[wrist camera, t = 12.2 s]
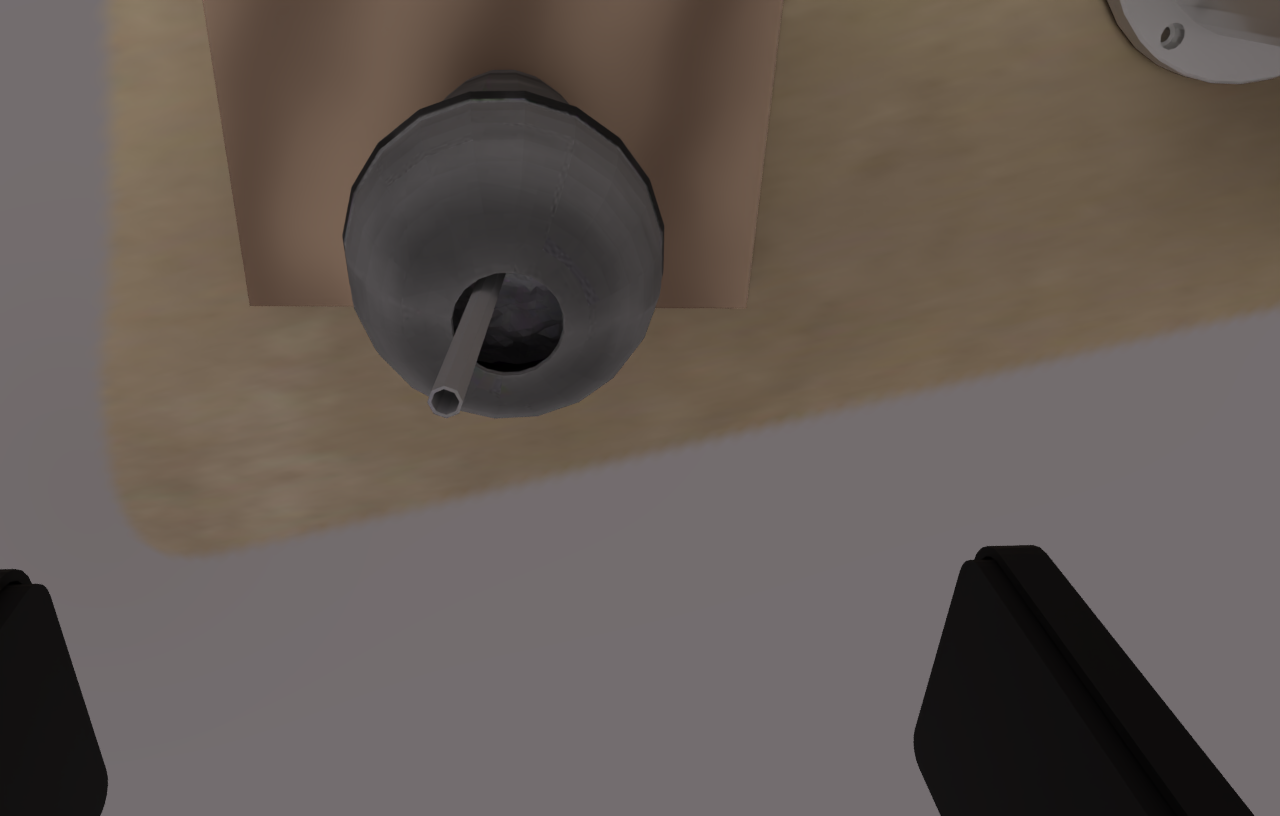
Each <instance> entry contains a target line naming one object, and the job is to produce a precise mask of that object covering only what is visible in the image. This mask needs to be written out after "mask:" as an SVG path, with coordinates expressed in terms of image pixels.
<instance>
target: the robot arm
mask: <svg viewBox="0 0 1280 816" xmlns="http://www.w3.org/2000/svg"><path fill="white" fill-rule="evenodd" d="M1107 1H1108V4H1109V6H1110V8H1111V10H1112V13H1113V15H1114V17H1115V20H1116V22H1117V24H1118V26H1119V27H1120V28H1121V30H1122V31H1123V32H1124V34H1125V35H1126V36H1127V37H1128V39H1129V40H1130V41H1131V43H1132V44H1133V45H1134V47H1135V48H1136V49H1137V50H1139V51H1140V52H1141V53H1143V54H1144V55H1145V56H1146V57H1148V58H1149V59H1150V60H1151V61H1153V62H1154V63H1155V64H1157V65H1158V66H1160V67H1163V68H1165V69H1167V70H1170V71H1172V72H1174V73H1177V74H1179V75H1181V76H1184V77H1189V78H1193V79H1197V80H1202V81H1206V82H1209V83H1223V84H1245V83H1251V82H1257V81H1263V80H1269V79H1273V78H1276V77H1279V76H1280V0H1107ZM914 751H915V756H916V761H917V763H918V766H919V769H920V771H921V773H922V775H923V777H924V780H925V782H926V784H927V786H928V789H929V790H930V793H931V795H932V797H933V800H934V802H935V804H936V806H937V808H938V810H939V813H940V815H941V816H1254V815H1253V813H1252V812H1251V811H1250V809H1249V808H1248V807H1247V806H1246V804H1245V803H1244V802H1243V801H1242V799H1241V798H1240V797H1239V796H1238V794H1237V793H1236V792H1235V791H1234V789H1233V788H1232V787H1231V786H1230V784H1229V783H1228V782H1227V781H1226V779H1225V778H1224V777H1223V775H1222V774H1221V773H1220V772H1219V770H1218V769H1217V768H1216V767H1215V765H1214V764H1213V763H1212V762H1211V760H1210V759H1209V758H1208V757H1207V755H1206V754H1205V753H1204V751H1203V750H1202V749H1201V748H1200V747H1199V745H1198V744H1197V743H1196V742H1195V740H1194V739H1193V738H1192V736H1191V735H1190V734H1189V733H1188V731H1187V730H1186V729H1185V728H1184V726H1183V725H1182V724H1181V723H1180V721H1179V720H1178V719H1177V717H1176V716H1175V715H1174V714H1173V712H1172V711H1171V710H1170V709H1169V707H1168V706H1167V705H1166V704H1165V702H1164V701H1163V700H1162V699H1161V697H1160V696H1159V695H1158V694H1157V692H1156V691H1155V690H1154V688H1153V687H1152V686H1151V685H1150V683H1149V682H1148V681H1147V680H1146V678H1145V677H1144V676H1143V675H1142V673H1141V672H1140V671H1139V670H1138V668H1137V667H1136V666H1135V664H1134V663H1133V662H1132V661H1131V660H1130V658H1129V657H1128V656H1127V654H1126V653H1125V652H1124V651H1123V649H1122V648H1121V647H1120V646H1119V644H1118V643H1117V642H1116V641H1115V639H1114V638H1113V637H1112V636H1111V635H1110V633H1109V632H1108V630H1107V629H1106V628H1105V627H1104V626H1103V624H1102V623H1101V622H1100V620H1099V619H1098V618H1097V617H1096V615H1095V614H1094V613H1093V612H1092V610H1091V609H1090V608H1089V607H1088V605H1087V604H1086V603H1085V601H1084V600H1083V599H1082V598H1081V596H1080V595H1079V594H1078V593H1077V592H1076V590H1075V589H1074V588H1073V586H1072V585H1071V584H1070V583H1069V581H1068V580H1067V579H1066V577H1065V576H1064V575H1063V574H1062V572H1061V571H1060V570H1059V569H1058V568H1057V566H1056V565H1055V564H1054V563H1053V561H1052V560H1051V559H1050V558H1049V556H1048V555H1047V554H1046V553H1045V552H1044V551H1043V550H1042V549H1041V548H1040V547H1037V546H1034V545H1019V546H987V547H983V548H981V549H980V550H979V551H978V553H977V554H976V557H975V559H974V560H969V561H966V562H965V563H964V564H963V565H962V567H961V570H960V573H959V576H958V580H957V583H956V587H955V590H954V594H953V597H952V601H951V605H950V608H949V612H948V615H947V618H946V622H945V625H944V629H943V632H942V636H941V639H940V643H939V647H938V650H937V654H936V657H935V661H934V664H933V668H932V672H931V675H930V678H929V682H928V685H927V689H926V692H925V696H924V699H923V704H922V706H921V710H920V713H919V717H918V720H917V724H916V728H915V732H914ZM107 787H108V776H107V771H106V768H105V765H104V761H103V758H102V755H101V752H100V749H99V746H98V742H97V740H96V737H95V733H94V730H93V727H92V724H91V721H90V717H89V715H88V711H87V708H86V705H85V702H84V699H83V696H82V693H81V690H80V686H79V683H78V681H77V677H76V674H75V671H74V668H73V665H72V661H71V658H70V655H69V652H68V649H67V646H66V643H65V640H64V637H63V634H62V630H61V627H60V624H59V621H58V618H57V615H56V612H55V609H54V605H53V602H52V599H51V596H50V594H49V592H48V590H47V589H46V587H45V586H44V585H41V584H32V583H31V581H30V579H29V577H28V576H27V575H26V574H25V573H24V572H23V571H21V570H16V569H3V570H0V816H100V815H101V813H102V810H103V807H104V804H105V800H106V796H107Z"/></svg>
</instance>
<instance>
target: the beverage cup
mask: <svg viewBox="0 0 1280 816" xmlns="http://www.w3.org/2000/svg"><path fill="white" fill-rule="evenodd" d="M342 238H343V245H344V251H345V258H346V264H347V271H348V277H349V284H350V288H351V295H352V301H353V305H354V309H355V311H356V313H357V315H358V317H359V319H360V320H361V322H362V324H363V326H364V328H365V330H366V332H367V334H368V336H369V338H370V340H371V342H372V344H373V346H374V347H375V349H376V351H377V352H378V353H379V355H380V356H381V357H382V358H383V359H384V360H385V361H386V362H387V363H388V364H389V365H390V366H391V367H392V368H393V369H394V370H395V371H396V372H397V373H398V374H399V375H400V376H401V377H402V378H403V379H404V380H405V381H406V382H407V383H408V384H409V385H410V386H411V387H412V388H414V389H416V390H418V391H419V392H421V393H423V394H425V395H427V396H429V399H428V402H427V403H428V404H429V406H430V408H431V410H432V411H433V413H434V414H436V415H439V416H442V417H445V418H449V417H451V416H454V415H456V414H458V413H459V412H460V411H464V412H469V413H473V414H478V415H482V416H487V417H491V418H511V417H530V416H539V415H542V414H545V413H548V412H551V411H554V410H557V409H560V408H563V407H566V406H569V405H572V404H575V403H577V402H580V401H581V400H582V399H584V398H585V397H587V396H588V395H590V394H591V393H592V392H594V391H595V390H597V389H598V388H600V387H601V386H602V385H604V384H605V383H607V382H608V381H609V380H611V379H612V378H614V376H615V375H616V374H617V372H618V371H619V370H620V369H621V367H622V366H623V365H624V363H625V362H626V361H627V360H628V358H629V357H630V356H631V354H632V353H633V352H634V351H635V349H636V348H637V347H638V345H639V344H640V343H641V341H642V340H643V339H644V337H645V334H646V332H647V329H648V326H649V323H650V320H651V318H652V315H653V312H654V309H655V306H656V304H657V301H658V298H659V295H660V290H661V279H662V276H663V269H664V223H663V220H662V216H661V213H660V210H659V207H658V204H657V200H656V197H655V194H654V191H653V188H652V184H651V181H650V179H649V177H648V176H647V175H646V173H645V172H644V170H643V169H642V168H641V166H640V165H639V163H638V162H637V161H636V159H635V158H634V157H633V155H632V154H631V152H630V151H629V150H628V148H627V147H626V146H625V144H624V143H623V141H622V140H621V139H620V138H619V137H618V136H617V135H615V134H614V133H612V132H611V131H610V130H608V129H607V128H606V127H604V126H603V125H601V124H600V123H599V122H597V121H596V120H594V119H593V118H592V117H590V116H589V115H588V114H586V113H585V112H583V111H582V110H581V109H579V108H578V107H576V106H573V105H569V103H568V102H567V101H566V100H565V99H564V98H563V96H562V95H561V94H560V93H558V92H557V91H556V90H554V89H553V88H552V87H550V86H549V85H547V84H546V83H545V82H543V81H542V80H540V79H538V78H537V77H536V76H533V75H529V74H526V73H523V72H520V71H517V70H491V71H488V72H486V73H483V74H480V75H477V76H474V77H472V78H471V79H468V80H466V81H465V82H464V83H463V84H461V85H460V86H459V87H458V88H456V89H455V90H454V91H453V92H452V93H450V94H449V95H448V96H447V97H446V98H445V99H444V100H443V101H441V102H438V103H435V104H433V105H430V106H427V107H424V108H421V109H419V110H418V111H416V112H415V113H414V114H413V115H411V116H410V117H409V118H408V119H406V120H405V121H404V122H403V123H402V124H400V125H399V126H398V127H397V128H395V129H394V130H393V131H392V132H391V133H389V134H388V135H387V136H386V137H384V138H383V139H382V140H381V141H379V142H378V143H377V145H376V147H375V148H374V150H373V152H372V153H371V155H370V157H369V158H368V160H367V162H366V163H365V165H364V167H363V168H362V170H361V172H360V173H359V175H358V177H357V178H356V180H355V182H354V184H353V185H352V187H351V192H350V197H349V203H348V208H347V213H346V218H345V224H344V229H343V234H342Z"/></svg>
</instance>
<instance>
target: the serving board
mask: <svg viewBox="0 0 1280 816" xmlns="http://www.w3.org/2000/svg"><path fill="white" fill-rule="evenodd" d="M783 1H784V0H203V7H204V13H205V19H206V26H207V32H208V39H209V45H210V52H211V58H212V65H213V71H214V77H215V84H216V90H217V97H218V103H219V110H220V116H221V123H222V129H223V135H224V142H225V148H226V155H227V161H228V168H229V174H230V180H231V187H232V193H233V200H234V206H235V213H236V219H237V226H238V232H239V238H240V245H241V251H242V258H243V264H244V271H245V277H246V284H247V290H248V296H249V303H250V306H354V305H353V301H352V295H351V288H350V284H349V277H348V271H347V264H346V258H345V251H344V245H343V238H342V234H343V229H344V224H345V218H346V213H347V208H348V203H349V197H350V192H351V187H352V185H353V184H354V182H355V180H356V178H357V177H358V175H359V173H360V172H361V170H362V168H363V167H364V165H365V163H366V162H367V160H368V158H369V157H370V155H371V153H372V152H373V150H374V148H375V147H376V145H377V143H378V142H379V141H381V140H382V139H383V138H384V137H386V136H387V135H388V134H389V133H391V132H392V131H393V130H394V129H395V128H397V127H398V126H399V125H400V124H402V123H403V122H404V121H405V120H406V119H408V118H409V117H410V116H411V115H413V114H414V113H415V112H416V111H418V110H419V109H421V108H424V107H427V106H430V105H433V104H435V103H438V102H441V101H443V100H444V99H445V98H446V97H447V96H448V95H449V94H450V93H452V92H453V91H454V90H455V89H456V88H458V87H459V86H460V85H461V84H463V83H464V82H465V81H466V80H468V79H471V78H472V77H474V76H477V75H480V74H483V73H486V72H488V71H491V70H517V71H520V72H523V73H526V74H529V75H533V76H536V77H537V78H538V79H540V80H542V81H543V82H545V83H546V84H547V85H549V86H550V87H552V88H553V89H554V90H556V91H557V92H558V93H560V94H561V95H562V96H563V98H564V99H565V100H566V101H567V102H568V103H569V105H573V106H576V107H578V108H579V109H581V110H582V111H583V112H585V113H586V114H588V115H589V116H590V117H592V118H593V119H594V120H596V121H597V122H599V123H600V124H601V125H603V126H604V127H606V128H607V129H608V130H610V131H611V132H612V133H614V134H615V135H617V136H618V137H619V138H620V139H621V140H622V141H623V143H624V144H625V146H626V147H627V148H628V150H629V151H630V152H631V154H632V155H633V157H634V158H635V159H636V161H637V162H638V163H639V165H640V166H641V168H642V169H643V170H644V172H645V173H646V175H647V176H648V177H649V179H650V181H651V184H652V188H653V191H654V194H655V197H656V200H657V204H658V207H659V210H660V213H661V216H662V220H663V223H664V269H663V276H662V279H661V290H660V295H659V298H658V301H657V304H656V306H655V308H746V307H747V299H748V291H749V282H750V274H751V266H752V258H753V249H754V241H755V233H756V224H757V216H758V208H759V200H760V191H761V183H762V175H763V166H764V158H765V150H766V142H767V133H768V125H769V117H770V109H771V100H772V92H773V84H774V75H775V67H776V59H777V51H778V42H779V34H780V26H781V18H782V9H783Z"/></svg>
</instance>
